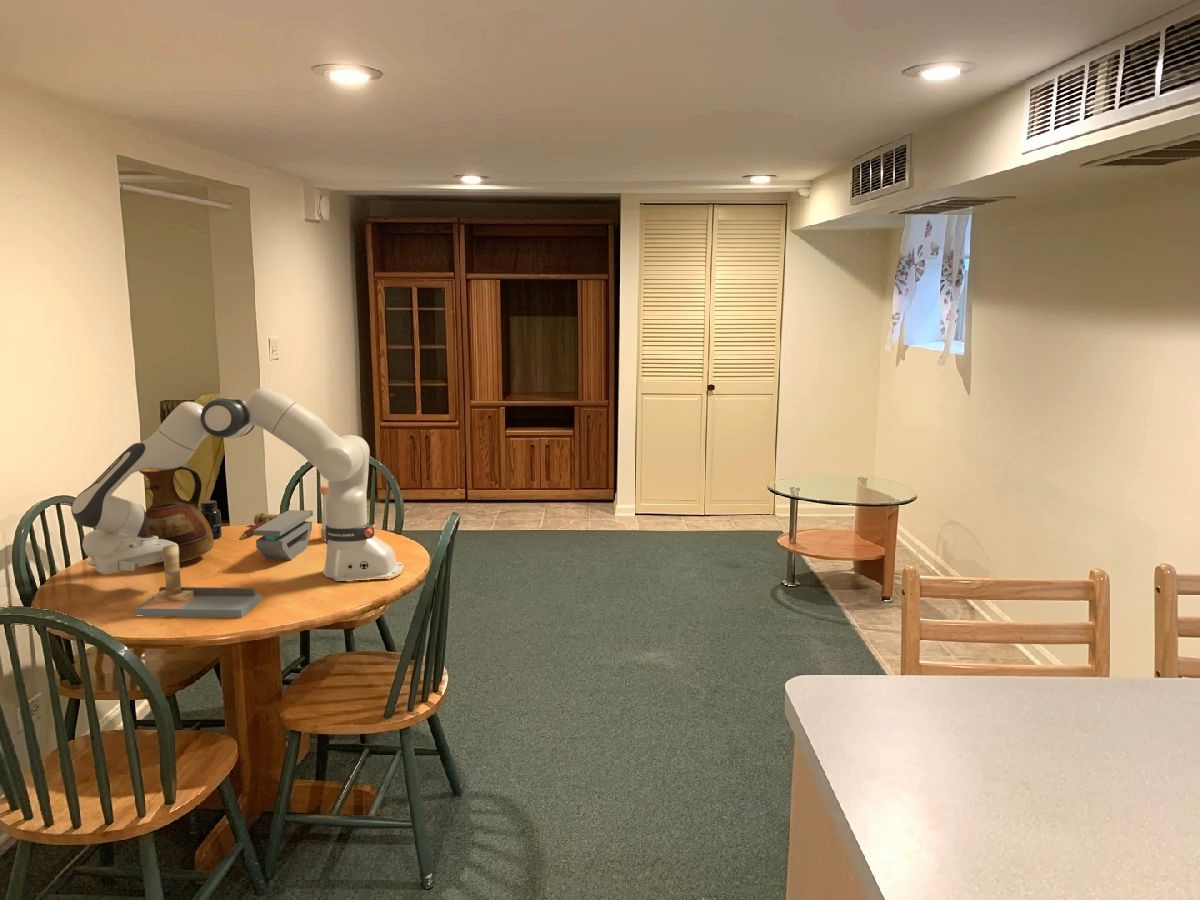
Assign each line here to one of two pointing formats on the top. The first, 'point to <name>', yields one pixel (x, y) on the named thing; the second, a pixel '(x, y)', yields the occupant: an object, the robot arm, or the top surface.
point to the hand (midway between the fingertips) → (153, 562)
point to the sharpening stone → (284, 535)
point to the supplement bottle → (212, 517)
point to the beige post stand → (172, 578)
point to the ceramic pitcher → (177, 515)
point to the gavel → (258, 523)
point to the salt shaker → (324, 510)
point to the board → (204, 603)
